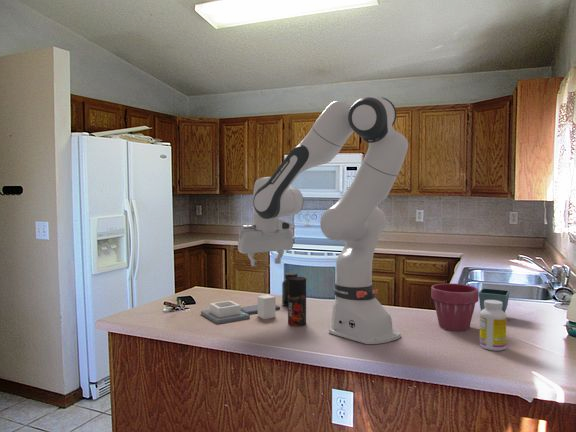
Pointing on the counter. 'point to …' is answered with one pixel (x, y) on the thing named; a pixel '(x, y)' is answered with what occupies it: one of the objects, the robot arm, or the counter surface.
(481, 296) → the flower pot
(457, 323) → the plant pot
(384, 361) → the counter surface
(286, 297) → the supplement bottle
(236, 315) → the dock
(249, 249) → the robot arm
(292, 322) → the deodorant
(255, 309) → the phone
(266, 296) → the block
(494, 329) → the supplement bottle
